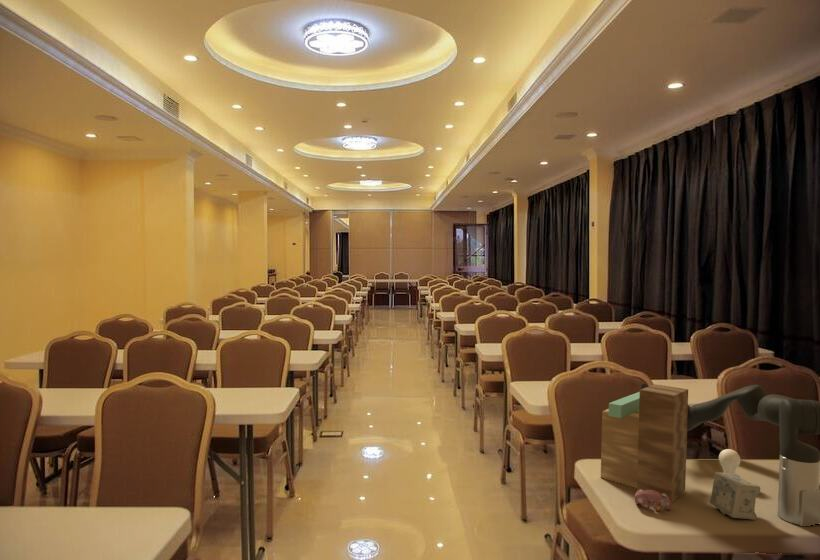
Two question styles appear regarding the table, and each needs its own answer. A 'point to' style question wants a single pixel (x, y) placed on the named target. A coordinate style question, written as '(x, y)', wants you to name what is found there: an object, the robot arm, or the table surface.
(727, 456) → the lightbulb
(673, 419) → the walnut stand
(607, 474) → the oak block
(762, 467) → the table surface
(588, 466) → the table surface
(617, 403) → the bar
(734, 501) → the grey speckled block
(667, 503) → the pink animal figurine
